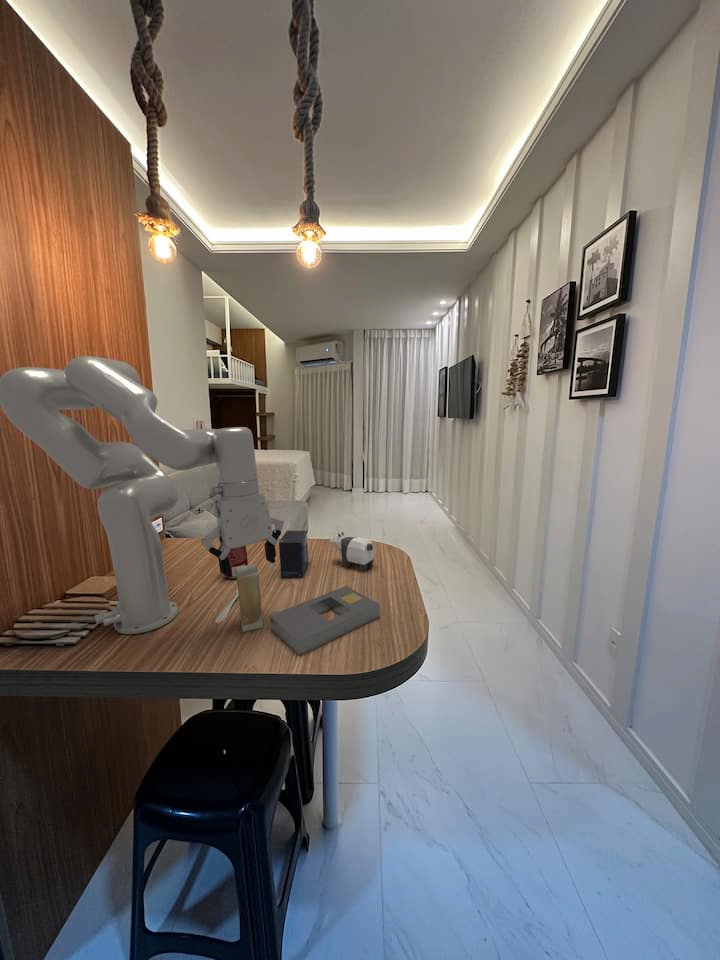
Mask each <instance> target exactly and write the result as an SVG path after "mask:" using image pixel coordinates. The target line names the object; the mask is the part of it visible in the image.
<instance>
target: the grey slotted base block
mask: <svg viewBox="0 0 720 960" xmlns="http://www.w3.org/2000/svg"><path fill="white" fill-rule="evenodd" d="M380 606H381V605H380V603H378V602H376V601H375V600H374V599H371V598H370V597H367V595H364V594H362V593H360V592H359V591H356V590H355V589H353V588H352V587H349V586H347V585H344V586H342V587H339V588H337V589H334V590H332V591H329V592H327V593H324V594H322V595H320V596H317V597H314V598H311V599H309V600H307V601H304V602H302V603H299V604H297V605H293V606H291V607H288V608H286V609H283V610H281V611H278V612H276V613H274V614H271V615H269V624H270V630H271V631H272V632H273V633H275V635H277V636H278V637H279V638H280V639H281V640H282V641H283V642H284V643H285V644H286V645H288V647H290V648H291V649H292V650H293V651H294V652H295V653H296V654H297V655H298V656H302V655H305V654H307V653H309V652H310V651H312V650H315V649H318V648H319V647H321V646H323V645H325V644H327V643H330V642H331V641H333V640H335V639H336V638H339V637H341V636H343V635H345V634H348V633H349V632H352V631H353V630H355V629H358V628H359V627H363V626H364V625H366V624H368V623H370V622H372V621H374V620H376V619H378V618H380V617H381V615H380V614H381V613H380V612H381V611H380V610H381V609H380ZM327 611H333V612H335V613H337V614H338V616H336V617H334V618H332V619H329V620H328V619H326V618H325V617H324V616H322V615H321V614H323V613H325V612H327Z"/></svg>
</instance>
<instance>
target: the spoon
mask: <svg viewBox="0 0 720 960" xmlns="http://www.w3.org/2000/svg"><path fill="white" fill-rule="evenodd" d="M238 598H239V595H238V588H237V589H236V591H235V596H234V597H233V598H232V599H231V601H229V603H228V604H227V605H226V606H225V608H224V609H223V610H222V611H221V612H220V614H219V615H218V616H217V617H216V618H215V623H216V624H218V623H221V622H222V621H224V620H225V619H226V617H227V616H228V614H229V613H230V611H231V609H232V607H233V606H234V605H233V604H234V603H235V601H236V600H237V599H238Z"/></svg>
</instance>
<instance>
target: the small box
mask: <svg viewBox="0 0 720 960" xmlns="http://www.w3.org/2000/svg"><path fill="white" fill-rule="evenodd" d="M278 551H279V562H280V563H279V566H280V567H279V568H280V578H281V579H287V578H288V579H289V578H293V579H295V578H298V579H299V578H303V577H304V575H305V572H306V570H307V567H308V565H309V547H308V531H307V530H285V533H284V534H283V536H282V537H281V538H280V539H279V541H278Z"/></svg>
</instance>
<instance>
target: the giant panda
mask: <svg viewBox="0 0 720 960" xmlns="http://www.w3.org/2000/svg"><path fill="white" fill-rule="evenodd" d="M329 543H331V545H332V547H333V548H334V549H336V550H337V551H340V555H341V561H342V564H341V565H340V567H341V568H344V569H348V568H350V566H351V564H352V565H355V564H359V568H358V572H363V573H366V572H367V571H368V568H369V569H371V568H372V569H373V567H374V560H375V546H374V544H373V542H372V541H371V540H370V539H368V538H366V537H363V536H362V537H359V536H358V537H354V536H353V537H351V536H347V537H346V536H345V534H344V531H341V533H340V532H339V533H337V534H335V535H334V536H333V538H331V539H329Z"/></svg>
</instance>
